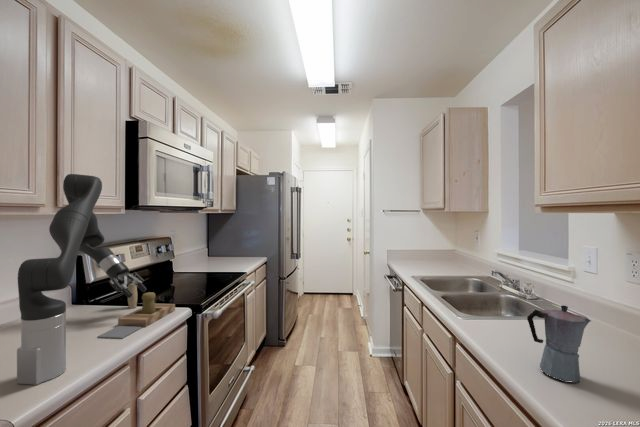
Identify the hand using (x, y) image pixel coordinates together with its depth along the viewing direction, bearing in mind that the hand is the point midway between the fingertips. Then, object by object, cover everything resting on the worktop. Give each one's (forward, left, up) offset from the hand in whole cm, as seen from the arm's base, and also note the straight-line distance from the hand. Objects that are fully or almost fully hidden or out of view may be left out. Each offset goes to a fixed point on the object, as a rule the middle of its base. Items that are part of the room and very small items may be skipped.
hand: (138, 293), depth 127 cm
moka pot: (-32, -152, -11) cm, 156 cm away
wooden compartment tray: (0, -5, -10) cm, 12 cm away
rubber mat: (-16, -5, -10) cm, 20 cm away
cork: (0, -5, -11) cm, 12 cm away
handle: (+12, +12, -11) cm, 20 cm away
